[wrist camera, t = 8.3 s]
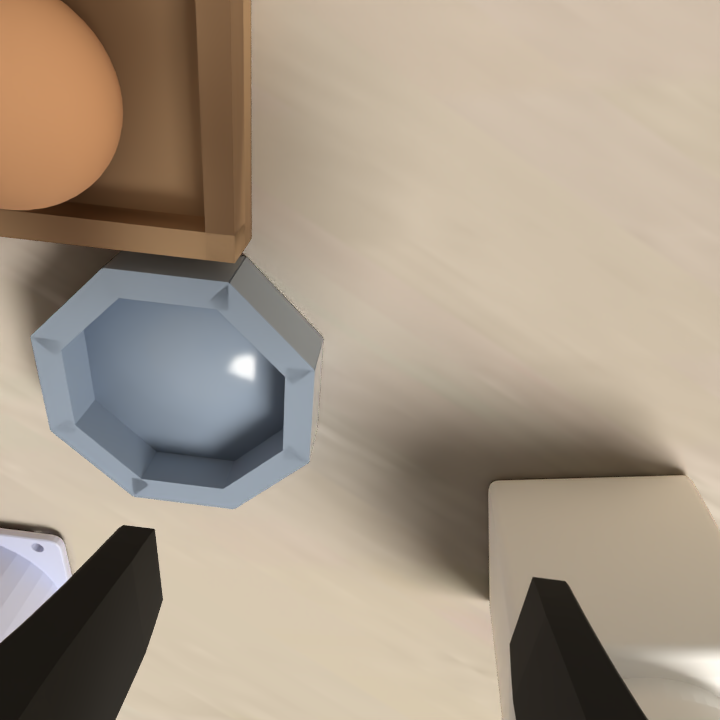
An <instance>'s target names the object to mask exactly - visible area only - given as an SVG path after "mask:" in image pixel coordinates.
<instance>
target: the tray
mask: <svg viewBox="0 0 720 720" xmlns="http://www.w3.org/2000/svg"><path fill="white" fill-rule="evenodd" d="M61 1H62V2H63V3H65V4H66V5H67V6H69V7H70V8H71V9H72V10H73V11H74V12H75V13H76V14H77V15H78V16H79V17H80V18H81V19H82V20H83V21H84V22H85V23H86V24H87V25H88V26H89V28H90V29H91V30H92V31H93V32H94V34H95V35H96V36H97V38H98V39H99V41H100V42H101V44H102V45H103V47H104V49H105V51H106V52H107V54H108V56H109V58H110V60H111V62H112V65H113V67H114V69H115V72H116V75H117V78H118V82H119V85H120V90H121V95H122V103H123V123H122V130H121V135H120V140H119V143H118V146H117V149H116V152H115V154H114V156H113V158H112V160H111V162H110V164H109V165H108V167H107V168H106V169H105V171H104V172H103V173H102V175H101V176H100V177H99V178H98V179H97V180H96V181H95V182H94V183H93V184H92V185H91V186H90V187H89V188H87V189H86V190H85V191H83V192H82V193H80V194H79V195H77V196H76V197H74V198H71V199H69V200H67V201H65V202H63V203H60V204H57V205H54V206H50V207H47V208H40V209H33V210H5V209H0V236H1V237H9V238H18V239H27V240H35V241H44V242H53V243H61V244H70V245H79V246H88V247H96V248H105V249H114V250H122V251H131V252H140V253H148V254H157V255H166V256H174V257H183V258H192V259H201V260H209V261H218V262H227V263H236V261H237V260H238V258H239V257H240V255H241V254H242V252H243V251H244V249H245V248H246V246H247V245H248V243H249V242H250V240H251V239H252V215H251V0H61Z"/></svg>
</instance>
